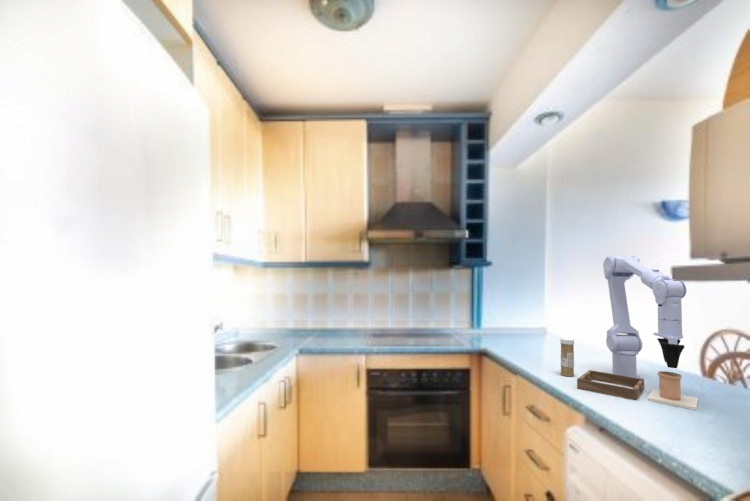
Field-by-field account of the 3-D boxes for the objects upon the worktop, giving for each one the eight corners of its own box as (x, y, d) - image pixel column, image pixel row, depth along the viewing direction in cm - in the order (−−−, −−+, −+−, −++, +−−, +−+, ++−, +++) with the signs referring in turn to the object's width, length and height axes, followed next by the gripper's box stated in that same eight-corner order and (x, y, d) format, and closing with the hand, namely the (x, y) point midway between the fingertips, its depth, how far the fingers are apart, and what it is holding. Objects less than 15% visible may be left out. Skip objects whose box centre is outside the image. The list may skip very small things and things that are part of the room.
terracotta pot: (657, 393, 117) (657, 370, 117) (680, 396, 114) (680, 373, 114) (659, 398, 112) (658, 374, 112) (683, 402, 109) (682, 377, 109)
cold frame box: (589, 378, 134) (589, 370, 135) (644, 388, 124) (644, 379, 124) (577, 388, 123) (577, 379, 123) (636, 400, 112) (636, 390, 112)
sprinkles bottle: (557, 373, 140) (557, 337, 141) (569, 373, 141) (569, 337, 142) (565, 377, 136) (564, 339, 137) (577, 376, 136) (576, 339, 137)
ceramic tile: (652, 392, 120) (652, 389, 120) (698, 400, 113) (697, 397, 113) (647, 400, 112) (647, 397, 112) (696, 410, 105) (696, 407, 105)
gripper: (651, 316, 122) (652, 358, 122) (655, 320, 110) (656, 367, 109) (679, 317, 118) (680, 361, 118) (686, 323, 106) (687, 371, 106)
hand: (670, 365), depth 113 cm, fingers open, 7 cm apart
